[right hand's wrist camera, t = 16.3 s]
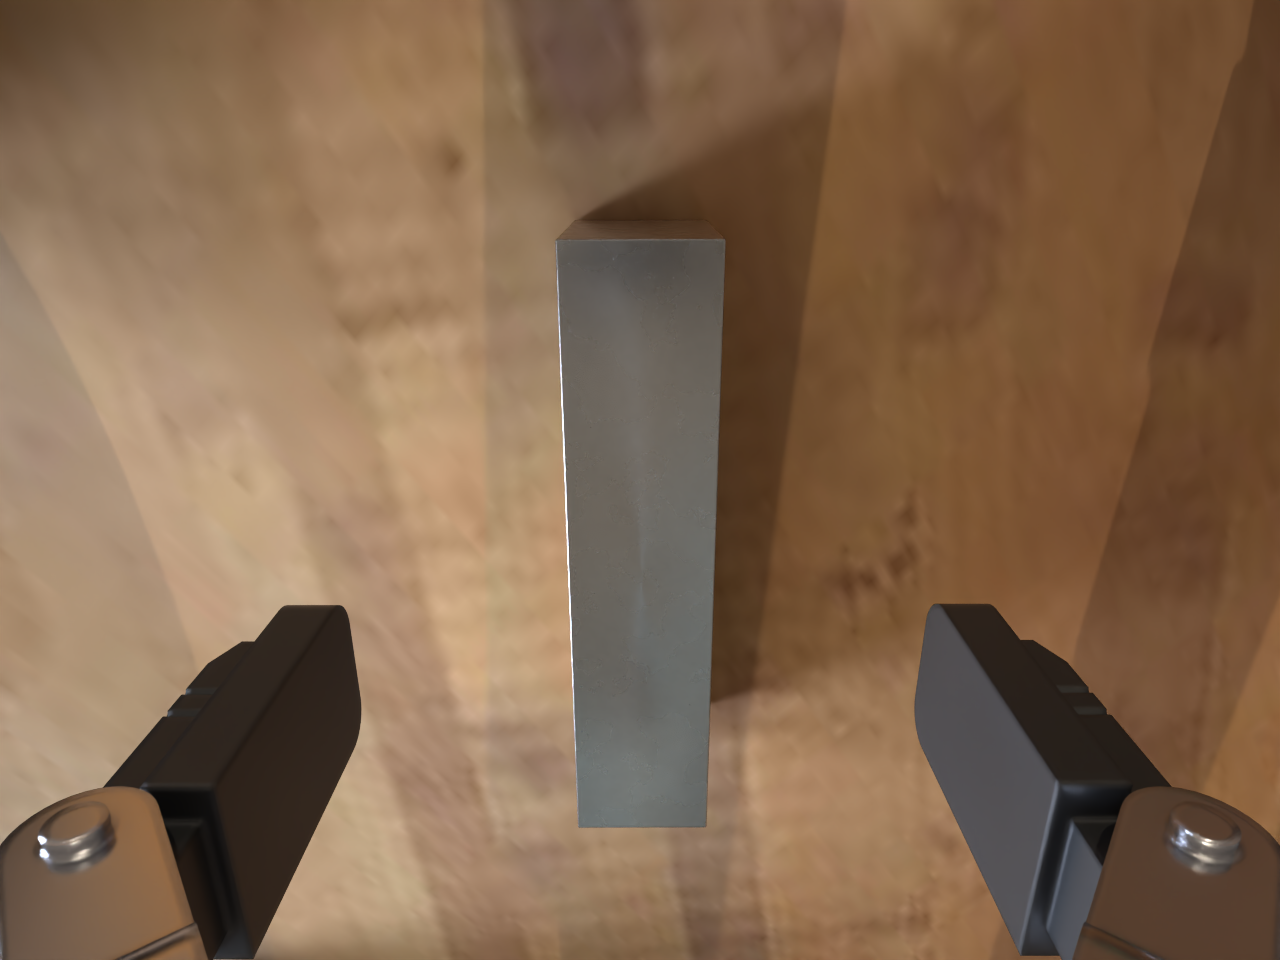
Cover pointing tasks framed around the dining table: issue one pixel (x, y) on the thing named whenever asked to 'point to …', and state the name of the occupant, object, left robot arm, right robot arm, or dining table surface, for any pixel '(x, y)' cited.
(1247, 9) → the dining table surface
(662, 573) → the bar
